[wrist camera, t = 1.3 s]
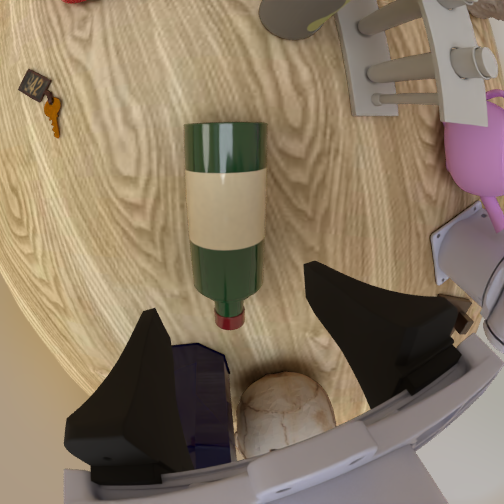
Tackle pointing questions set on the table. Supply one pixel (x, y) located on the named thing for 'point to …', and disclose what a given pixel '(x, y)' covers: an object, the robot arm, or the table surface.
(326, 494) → the robot arm
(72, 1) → the liquor
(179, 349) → the bottle
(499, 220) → the teapot
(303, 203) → the table surface
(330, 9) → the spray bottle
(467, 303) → the wine rack
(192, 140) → the wine bottle
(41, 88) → the key tag
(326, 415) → the skull
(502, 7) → the fossil
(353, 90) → the test tube rack
